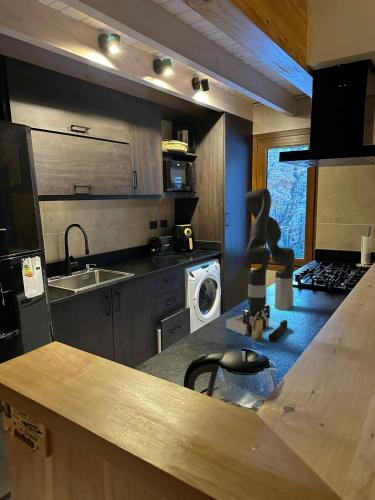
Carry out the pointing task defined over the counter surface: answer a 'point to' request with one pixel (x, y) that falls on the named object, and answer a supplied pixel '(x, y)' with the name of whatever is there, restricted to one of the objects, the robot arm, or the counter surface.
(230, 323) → the block
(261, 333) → the bushing
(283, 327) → the hand tool
